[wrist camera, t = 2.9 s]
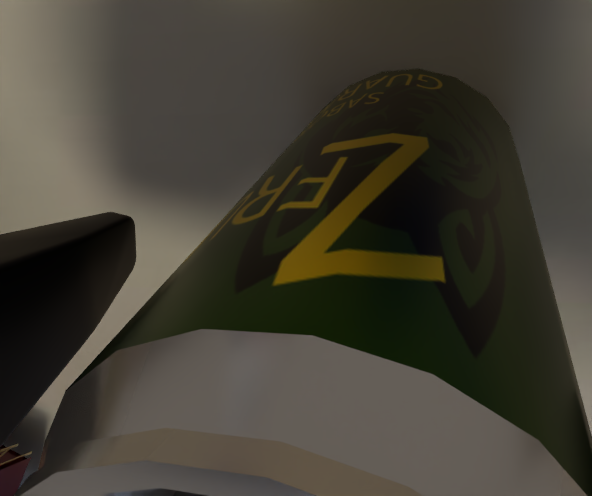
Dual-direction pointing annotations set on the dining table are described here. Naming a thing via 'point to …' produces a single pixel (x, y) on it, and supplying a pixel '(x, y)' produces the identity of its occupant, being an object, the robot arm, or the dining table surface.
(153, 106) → the dining table surface
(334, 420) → the beer can
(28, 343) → the robot arm
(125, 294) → the dining table surface
